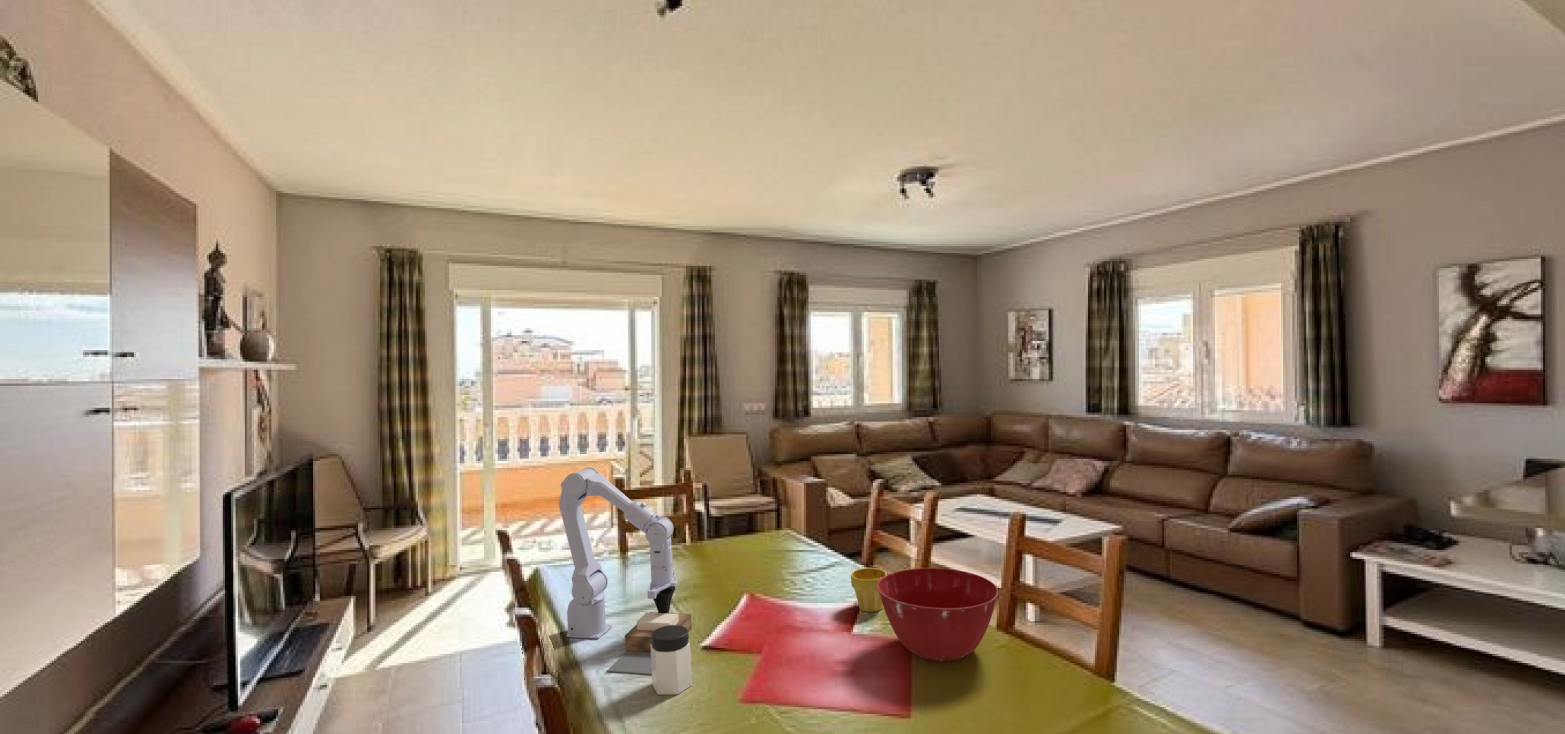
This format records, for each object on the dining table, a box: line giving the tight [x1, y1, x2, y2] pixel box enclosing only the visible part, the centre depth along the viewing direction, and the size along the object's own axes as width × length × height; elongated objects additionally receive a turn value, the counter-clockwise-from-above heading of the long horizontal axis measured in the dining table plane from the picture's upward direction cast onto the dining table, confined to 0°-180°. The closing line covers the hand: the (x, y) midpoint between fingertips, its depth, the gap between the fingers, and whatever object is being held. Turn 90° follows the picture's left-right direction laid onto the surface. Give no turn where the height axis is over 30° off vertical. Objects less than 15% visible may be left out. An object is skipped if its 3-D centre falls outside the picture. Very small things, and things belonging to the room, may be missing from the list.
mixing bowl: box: [877, 567, 999, 662], centre depth 154 cm, size 28×28×16 cm
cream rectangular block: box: [636, 612, 679, 630], centre depth 165 cm, size 9×6×2 cm, turn 78°
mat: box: [606, 651, 652, 676], centre depth 153 cm, size 12×10×1 cm
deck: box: [624, 611, 693, 653], centre depth 166 cm, size 12×15×4 cm
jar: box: [650, 625, 693, 696], centre depth 142 cm, size 9×8×12 cm
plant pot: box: [850, 567, 888, 613], centre depth 181 cm, size 10×10×10 cm
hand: (663, 615), depth 169 cm, fingers closed
